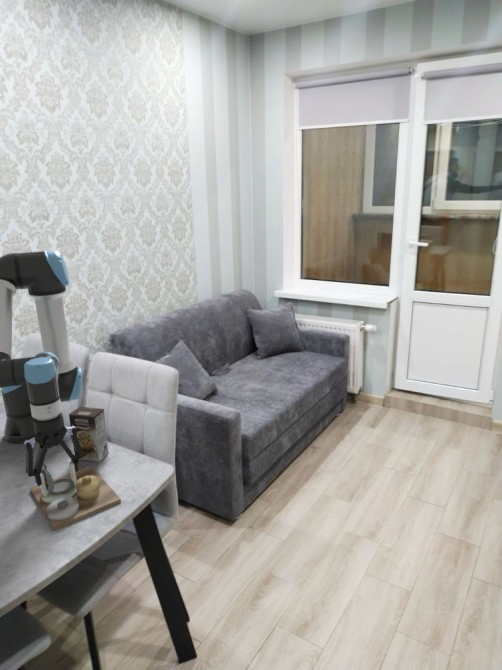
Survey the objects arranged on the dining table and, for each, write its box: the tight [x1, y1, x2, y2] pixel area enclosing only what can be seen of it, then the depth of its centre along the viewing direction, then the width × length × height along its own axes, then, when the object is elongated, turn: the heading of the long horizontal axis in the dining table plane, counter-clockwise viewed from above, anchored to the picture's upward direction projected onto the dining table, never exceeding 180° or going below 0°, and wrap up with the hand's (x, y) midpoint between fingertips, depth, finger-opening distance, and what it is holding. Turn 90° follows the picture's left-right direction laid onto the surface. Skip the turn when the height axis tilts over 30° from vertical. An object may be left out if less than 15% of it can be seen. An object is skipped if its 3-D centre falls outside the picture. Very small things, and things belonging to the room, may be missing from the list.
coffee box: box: [68, 406, 110, 463], centre depth 153 cm, size 9×6×16 cm
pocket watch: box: [41, 462, 74, 494], centre depth 133 cm, size 8×8×10 cm
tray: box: [30, 465, 122, 531], centre depth 134 cm, size 22×18×6 cm
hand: (59, 487), depth 135 cm, fingers closed on pocket watch, 8 cm apart
